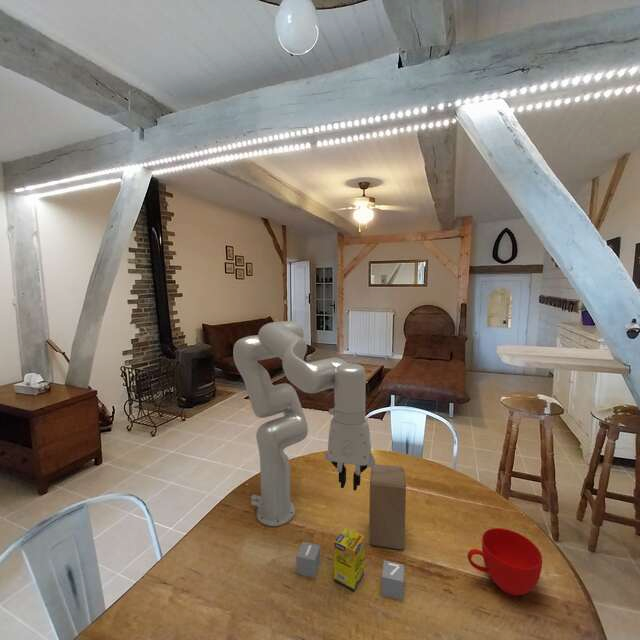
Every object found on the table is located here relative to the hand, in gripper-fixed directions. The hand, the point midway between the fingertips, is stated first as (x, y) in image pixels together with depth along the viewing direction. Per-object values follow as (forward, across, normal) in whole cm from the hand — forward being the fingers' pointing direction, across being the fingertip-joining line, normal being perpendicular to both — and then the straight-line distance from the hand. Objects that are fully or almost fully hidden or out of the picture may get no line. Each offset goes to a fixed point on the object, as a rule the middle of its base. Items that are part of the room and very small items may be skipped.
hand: (349, 485), depth 82 cm
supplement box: (+25, 0, 0) cm, 25 cm away
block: (+25, +8, +17) cm, 32 cm away
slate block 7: (+25, +11, 0) cm, 28 cm away
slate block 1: (+25, -11, 0) cm, 28 cm away
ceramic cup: (+25, +37, +9) cm, 46 cm away
